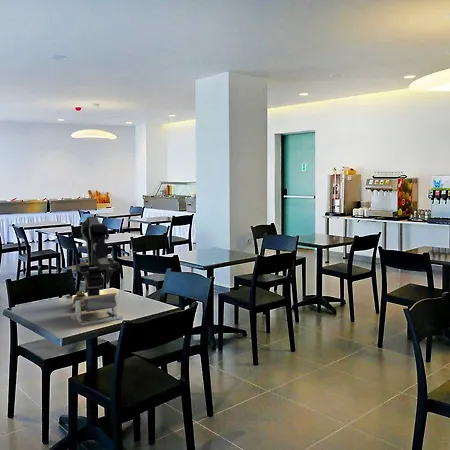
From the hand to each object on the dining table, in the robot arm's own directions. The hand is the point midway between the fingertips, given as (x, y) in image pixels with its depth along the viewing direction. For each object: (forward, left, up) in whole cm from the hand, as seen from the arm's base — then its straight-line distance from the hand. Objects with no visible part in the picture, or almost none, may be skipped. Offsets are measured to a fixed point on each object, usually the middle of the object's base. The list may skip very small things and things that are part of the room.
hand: (97, 285), depth 232 cm
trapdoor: (+13, -7, -8) cm, 17 cm away
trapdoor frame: (+14, -7, -11) cm, 19 cm away
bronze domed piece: (-4, -7, -3) cm, 8 cm away
